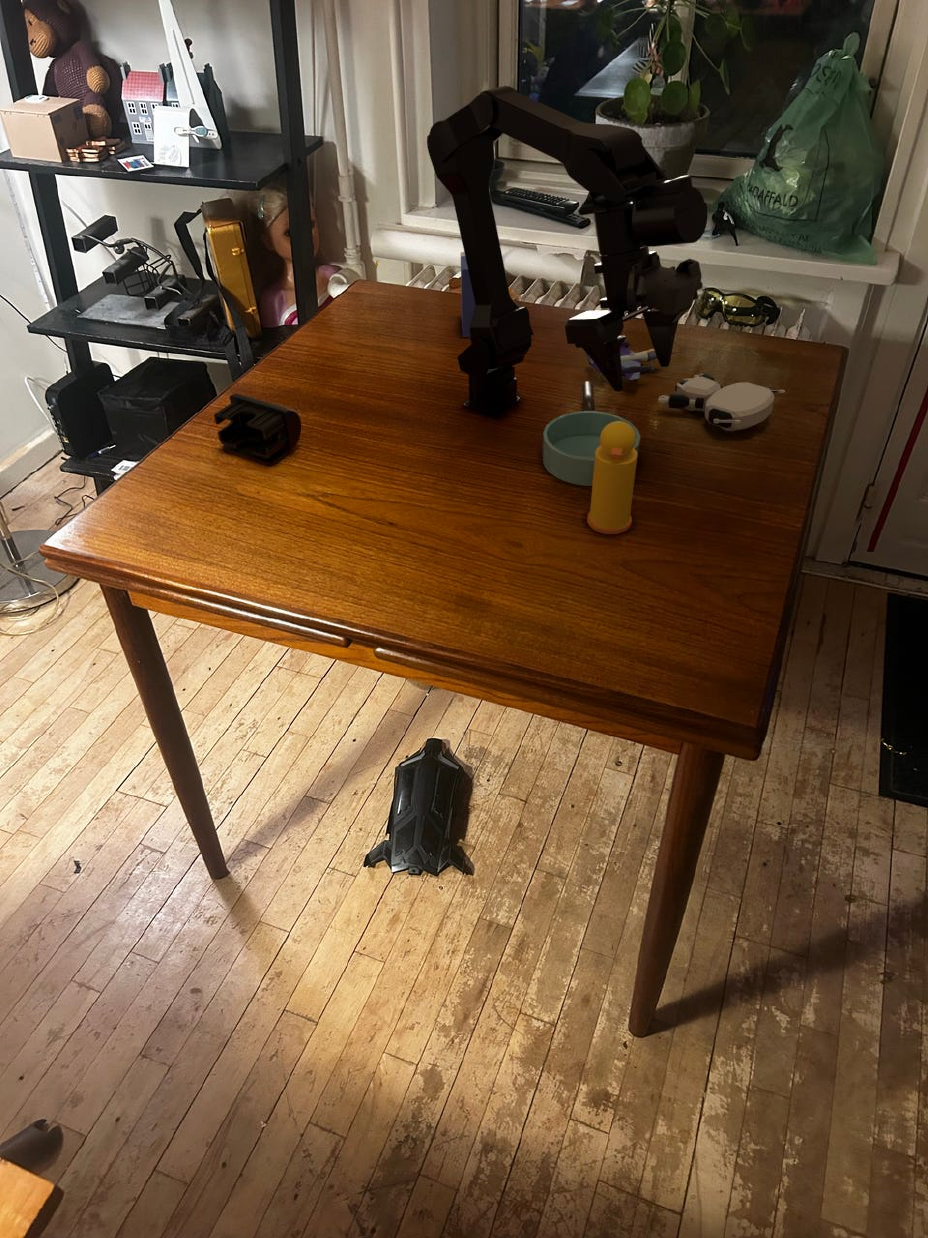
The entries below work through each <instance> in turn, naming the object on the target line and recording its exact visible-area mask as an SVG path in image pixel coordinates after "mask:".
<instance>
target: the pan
mask: <svg viewBox="0 0 928 1238" xmlns="http://www.w3.org/2000/svg"><path fill="white" fill-rule="evenodd" d="M615 421H622V422H625V423H627V424H629V425H630V426H631V427H632V428H633V430H634V432H635V435H636V442H635V446H634V449H635V450H636V452H637V461H638V460H639V454H640V453H639V452H640V446H641V435H640V432H639V429H638V428H637V427H636V426H635V425H634V424H633V423H632V422H631V421H629V420H628V419H625V418H623V417H621V416H619V415H615V414H612V413H608V412H603V411H596V410H595V411H574V412H569V413H564V414H563V415H560V416H558V417H555V418H554V419H552V420H551V421H550V422H548V423H547V424H546V425H545V427H544V430H543V433H542V450H541V451H542V452H541V455H542V464H543V466H544V468H545V469H546V471H548V473H550V474H551V475H552V476H553V477H555V478H557V479H559V480H560V481H563V482H566V483H569V484H572V485H577V486H585V487H592V486H593V475H594V463H595V452H596V450H597V448H598V447H599V446H601V444H600V436H601V433H602V431H603V429H604V428H605V427H606V426H607V425H608V424H610V423H612V422H615ZM637 465H638V462H637V463H636V466H637Z"/></svg>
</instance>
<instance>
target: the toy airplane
mask: <svg viewBox="0 0 928 1238" xmlns="http://www.w3.org/2000/svg"><path fill="white" fill-rule="evenodd" d="M631 345H632V344H631V343H629V341H628V340H627V341H626V340H625V341H624V343H623V344H622V346H621V348H620V356H621V365H622V375H623V377H625V379H626V380H627V381H628V382H633V381H639V380H640V376H642V375H645V374H649V373H650V372H653V371H655V370H656V365H655V364H654V363H653V360H657V356H656V353H655V350H654V348H651V349H647V350H644V351H640V352H635V351H634V350H630V349H629V346H631ZM680 353H682V351H676V352H672V354H673V355H675V354H680ZM672 354H671V355H672ZM585 355H586V358H587V361H588V365H590V366H592V367H593V368H594V370H596V372H598V373H599V374H602V372H601V371H600V369H599V368H598V367H597V365H596V364H595V363H594V361H593V360H592V359H591V358H590V357H589V356H588V354H587V353H586V352H585ZM643 363H649V365H644V364H643Z"/></svg>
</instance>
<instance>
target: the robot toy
mask: <svg viewBox="0 0 928 1238" xmlns="http://www.w3.org/2000/svg"><path fill="white" fill-rule="evenodd" d="M674 391H675V393H670V395H669V396H668V395H660V396H659V397H658V399H657V403H658V404H659V405H668V408H669V409H683V408H684V409H685V410H687V411H691V412H694V411H698V412H703V413H704V419H706V421H707V422H708V423H709V424H710V425H713V426H717V427H719V428H720V429H722V430H724V431H726V432H735V431H741V430H747V429H748V428H752V427H754V426H756V425H758V424H760V423H762V422H764V421H765V420H766V419H767V418H768V417H769V416H770V415H771V413H772V412H773V409H774V403H775V393H777V394H778V393H779V394H783V393H785V392H786V390H784V389H770V388H768V387H765V386H761V385H758V384H755V383H751V382H748V381H746V382H735V383H731V384H729V385H726V386H723V385H721V384H720V383H719V382H717V381H715V378H714V377H713V376H712V375H711V374H709V373H698V374H695V375H694V376H693V377H691V378H690V377H688V378H683V380H682V381H679V382H677V383H676V384H675V387H674Z"/></svg>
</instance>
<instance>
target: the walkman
mask: <svg viewBox="0 0 928 1238" xmlns="http://www.w3.org/2000/svg"><path fill="white" fill-rule="evenodd" d="M460 288H461V289H460V295H461V300H460V301H461V327H462V329H461V330H462V338H471V337H470V323H471V319H472V316H473V312H474V308H475V300H474V295H473V290H472V286H471V281H470V276H469V272H468V267H467V262H466V258H465V253H464V251H461V252H460Z"/></svg>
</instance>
